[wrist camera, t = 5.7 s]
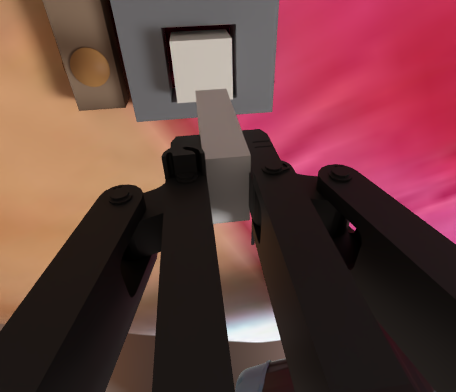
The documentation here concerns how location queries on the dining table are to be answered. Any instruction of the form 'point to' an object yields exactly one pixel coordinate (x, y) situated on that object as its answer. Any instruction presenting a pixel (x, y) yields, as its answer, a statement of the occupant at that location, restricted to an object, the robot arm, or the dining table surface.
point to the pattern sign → (89, 52)
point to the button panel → (196, 16)
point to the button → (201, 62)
